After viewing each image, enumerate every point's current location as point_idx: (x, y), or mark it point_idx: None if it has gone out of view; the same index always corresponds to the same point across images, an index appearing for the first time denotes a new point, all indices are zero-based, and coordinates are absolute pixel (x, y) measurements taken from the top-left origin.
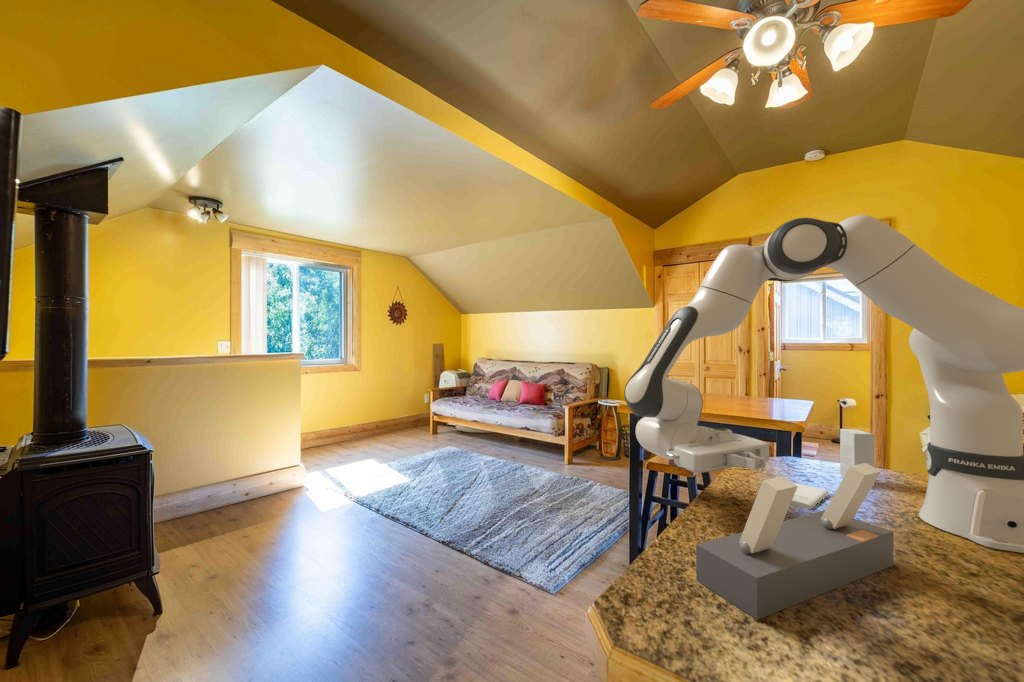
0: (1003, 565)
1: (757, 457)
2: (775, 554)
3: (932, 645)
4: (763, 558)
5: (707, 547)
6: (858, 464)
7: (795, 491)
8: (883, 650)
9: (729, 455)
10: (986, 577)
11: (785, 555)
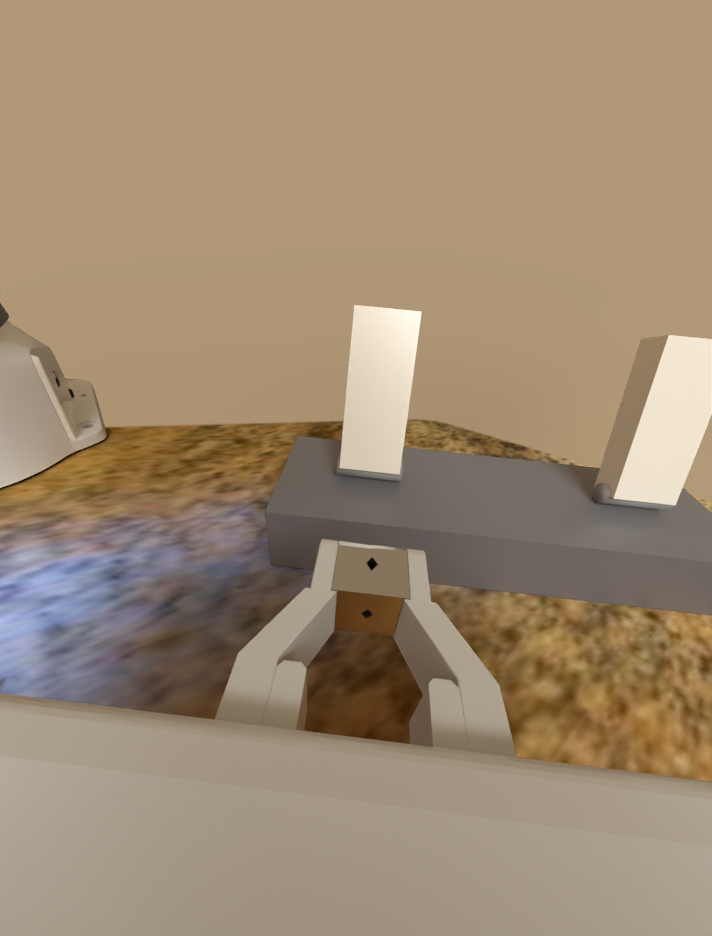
0: (174, 430)
1: (336, 566)
2: (591, 487)
3: (458, 442)
4: None
5: None
6: (386, 308)
7: (637, 352)
8: (513, 456)
9: (505, 735)
10: (238, 435)
11: (574, 479)
